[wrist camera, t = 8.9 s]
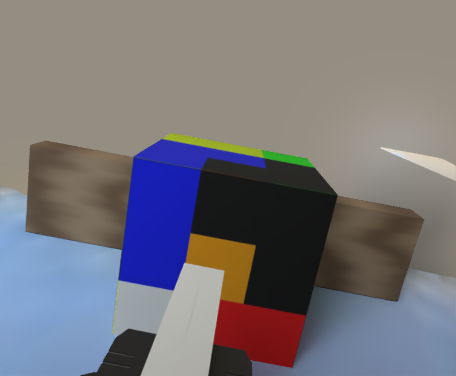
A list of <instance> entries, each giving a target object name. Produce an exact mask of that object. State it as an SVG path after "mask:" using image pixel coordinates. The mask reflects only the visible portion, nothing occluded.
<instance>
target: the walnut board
mask: <svg viewBox="0 0 456 376" xmlns="http://www.w3.org/2000/svg"><path fill="white" fill-rule="evenodd" d="M132 163H133V157H129V156H124V155H119V154H114V153H108V152H103V151H98V150H92V149H87V148H82V147H77V146H71V145H66V144H60V143H55V142H50V141H44V142H40V143H36V144H32V145H30V159H29V177H28V178H29V179H28V196H27V215H26V231H27V232H32V233H37V234H43V235H48V236H53V237H59V238H64V239H69V240H74V241H80V242H85V243H90V244H96V245H101V246H106V247H112V248H117V249H122V245H123V237H124V229H125V220H126V212H127V204H128V196H129V188H130V179H131V171H132ZM423 221H424V219H423V218H422V217H420V216H419V215H418V214H416V213H415V212H414V211H412V210H410V209H405V208H400V207H395V206H389V205H384V204H378V203H373V202H368V201H363V200H358V199H352V198H347V197H342V196H338V197H337V201H336V204H335V208H334V212H333V216H332V219H331V223H330V227H329V231H328V235H327V238H326V242H325V246H324V250H323V253H322V257H321V261H320V265H319V269H318V272H317V276H316V280H315V284H314V286H318V287H324V288H329V289H334V290H339V291H345V292H350V293H355V294H361V295H366V296H371V297H377V298H382V299H387V300H392V301H397V300H398V297H399V294H400V291H401V288H402V285H403V282H404V279H405V276H406V273H407V270H408V267H409V264H410V261H411V258H412V254H413V252H414V248H415V246H416V243H417V239H418V237H419V234H420V230H421V227H422V224H423Z"/></svg>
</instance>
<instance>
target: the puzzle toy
mask: <svg viewBox="0 0 456 376" xmlns="http://www.w3.org/2000/svg"><path fill="white" fill-rule="evenodd" d="M337 197H338V195H337V194H336V192H335V191H334V190H333V189H332V188H331V187H330V185H329V184H328V183H327V182H326V181H325V179H324V178H323V177H322V176H321V175H320V174H319V173H318V171H317V170H316V169H315V168H314V166H313V165H312V164H311V163H310V162H309V160H308V159H307V158H301V157H296V156H291V155H285V154H280V153H274V152H269V151H264V150H258V149H253V148H248V147H243V146H238V145H232V144H227V143H221V142H216V141H211V140H205V139H200V138H195V137H190V136H184V135H179V134H174V133H171V134H169V135H168V136H166V137H164V138H163V139H161V140H160V141H158V142H157V143H155V144H153V145H152V146H150V147H148V148H147V149H145V150H144V151H142V152H140V153H139V154H137V155H136V156H134V157H133V163H132V171H131V179H130V188H129V196H128V204H127V212H126V220H125V229H124V237H123V245H122V253H121V261H120V270H119V278H118V286H117V294H116V302H115V311H114V319H113V327H112V334H114V335H120V334H122V333H123V332H124V331H126V330H127V329H128V328H129V329H134V330H139V331H144V332H149V333H154V334H157V332H158V330H159V327H160V325H161V322H162V319H163V317H164V314H165V312H166V309H167V307H168V304H169V301H170V299H171V296H172V294H173V291H174V289H175V286H176V283H177V281H178V278H179V276H180V273H181V271H182V268H183V265H184V263H188V264H193V265H198V266H203V267H208V268H213V269H218V270H223V271H224V276H223V283H222V289H221V296H220V302H219V309H218V315H217V321H216V328H215V334H214V341H213V344H216V345H221V346H226V347H231V348H236V349H241V350H245V351H246V353H247V355H248V357H249V359H250V360H253V361H258V362H264V363H269V364H274V365H280V366H285V367H290V368H292V367H293V363H294V359H295V355H296V352H297V348H298V344H299V340H300V337H301V333H302V329H303V325H304V321H305V318H306V314H307V310H308V306H309V303H310V299H311V295H312V291H313V287H314V284H315V280H316V276H317V272H318V269H319V265H320V261H321V257H322V253H323V250H324V246H325V242H326V238H327V235H328V231H329V227H330V223H331V219H332V216H333V212H334V208H335V204H336V201H337Z"/></svg>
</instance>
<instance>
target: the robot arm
mask: <svg viewBox="0 0 456 376" xmlns="http://www.w3.org/2000/svg"><path fill="white" fill-rule="evenodd" d="M223 276H224V271H223V270H218V269H213V268H208V267H203V266H198V265H193V264H188V263H184V265H183V268H182V271H181V273H180V276H179V278H178V281H177V283H176V286H175V289H174V291H173V294H172V296H171V299H170V301H169V304H168V307H167V309H166V312H165V314H164V317H163V319H162V322H161V325H160V327H159V330H158V332H157V334H154V333H149V332H144V331H139V330H134V329H129V328H128V329H127V330H126V331H124V332H123V333H122V334H120V335H119V336H117V337H116V338H115V340H114V342H113V344H112V345H111V347H110V349H109V352H108V353H107V355H106V356H105V358H104V360H103V363H102V364H101V366H100V367H99V369H98V371H97V372H93V373H89V374H84V375H81V376H252V363H251V361H250V359H249V357H248V355H247V353H246V351H245V350H241V349H236V348H231V347H226V346H221V345H216V344H213V341H214V334H215V328H216V321H217V315H218V309H219V302H220V296H221V289H222V283H223Z"/></svg>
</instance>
